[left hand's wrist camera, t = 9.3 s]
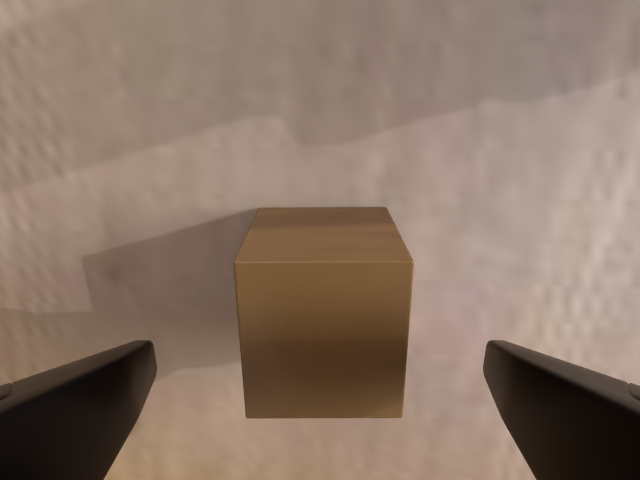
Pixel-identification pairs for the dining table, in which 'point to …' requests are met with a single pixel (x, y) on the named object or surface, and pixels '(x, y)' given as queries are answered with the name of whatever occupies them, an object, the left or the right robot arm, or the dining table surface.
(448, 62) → the dining table surface
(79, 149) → the dining table surface
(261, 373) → the block
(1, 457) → the left robot arm
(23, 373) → the dining table surface
